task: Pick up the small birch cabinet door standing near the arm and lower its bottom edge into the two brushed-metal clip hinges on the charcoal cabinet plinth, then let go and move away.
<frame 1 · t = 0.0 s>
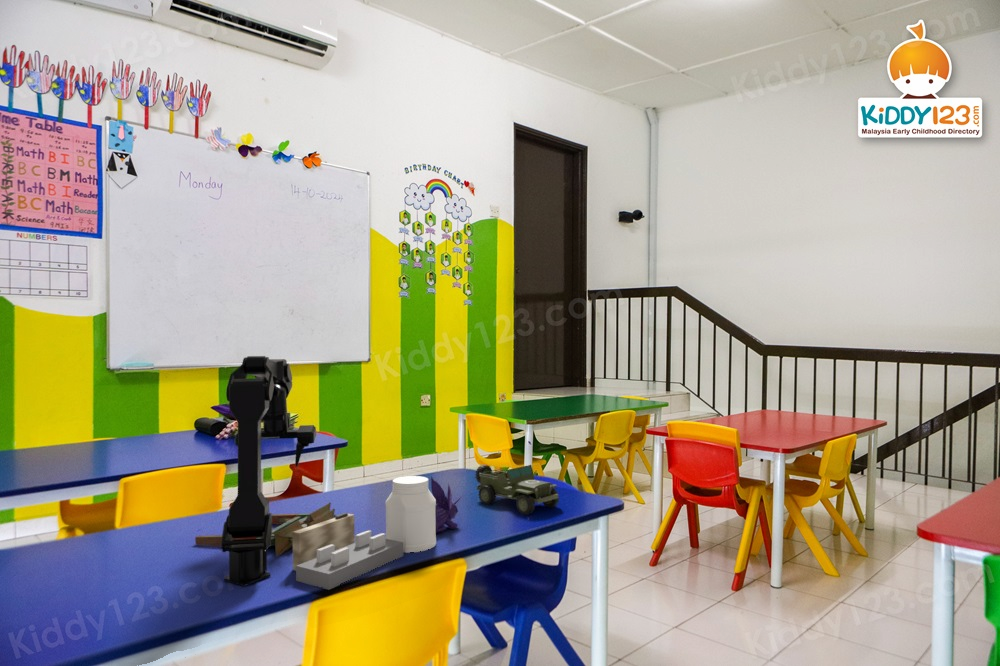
hand: (278, 466, 166), 15 cm above the table, tool pointing down, fingers open, 9 cm apart
jar: (411, 545, 153), on the table
creature: (437, 529, 165), on the table
miniature gate: (275, 538, 160), on the table
birch door: (325, 559, 143), on the table
toy jeep: (515, 505, 188), on the table
hinge plinth: (352, 567, 138), on the table
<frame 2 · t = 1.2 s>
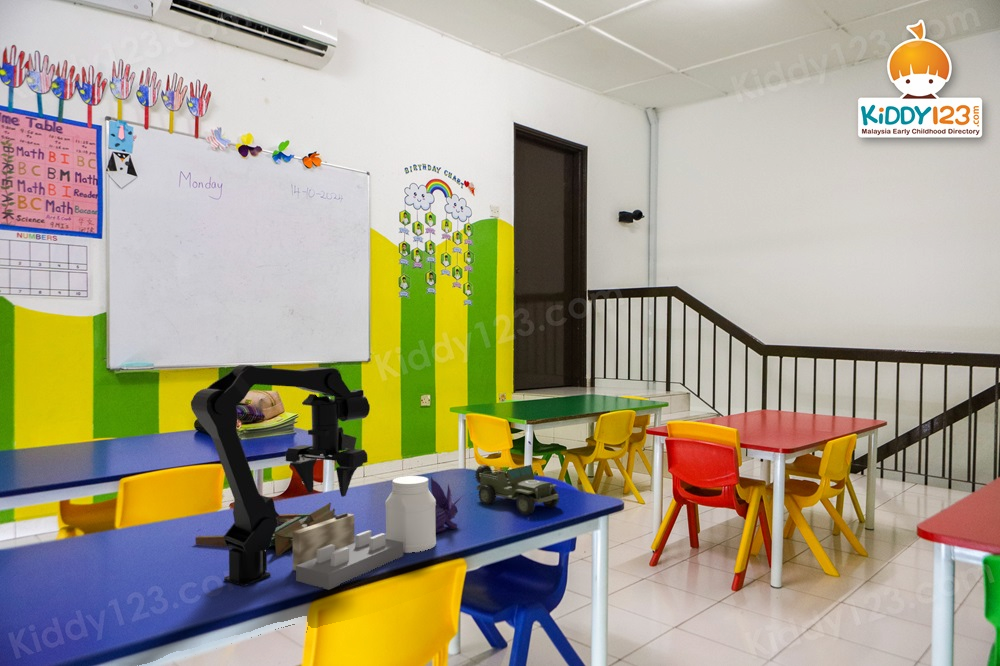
hand: (326, 494, 146), 13 cm above the table, tool pointing down, fingers open, 9 cm apart
jar: (411, 545, 152), on the table, touching creature
creature: (437, 529, 165), on the table, touching jar
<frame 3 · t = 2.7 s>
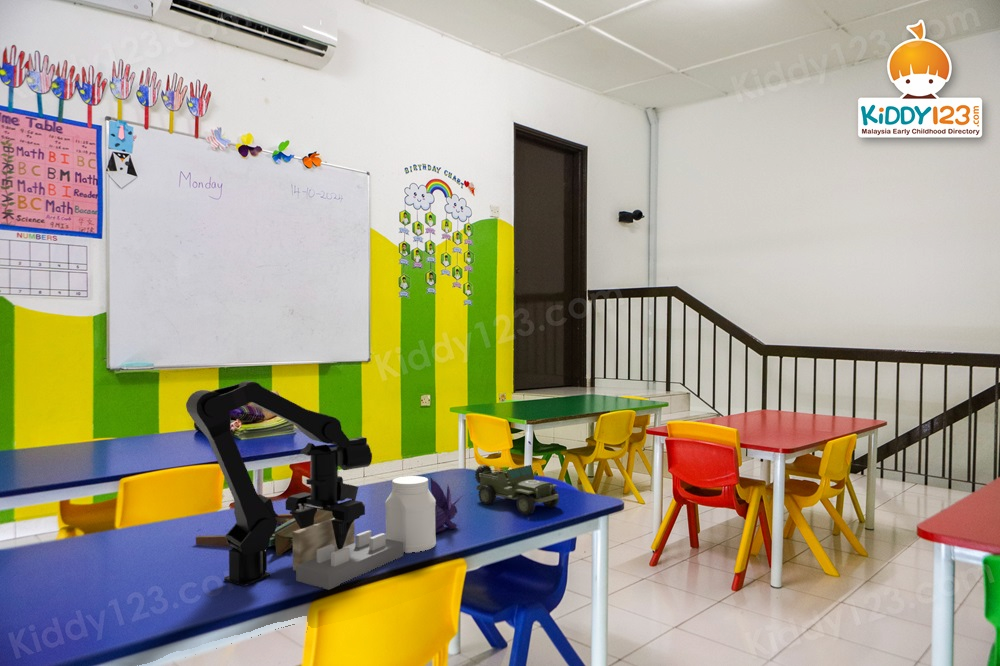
hand: (325, 545, 143), 3 cm above the table, tool pointing down, fingers open, 9 cm apart
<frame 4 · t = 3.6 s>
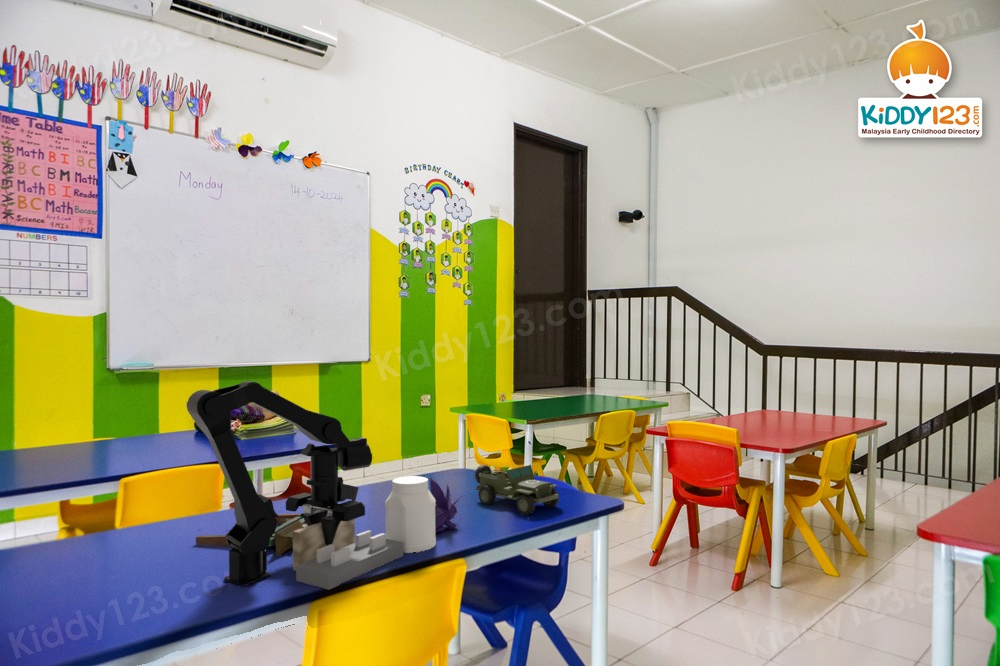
hand: (325, 546, 143), 3 cm above the table, tool pointing down, fingers closed on birch door, 2 cm apart
birch door: (325, 559, 143), on the table, touching gripper
everything else where it was.
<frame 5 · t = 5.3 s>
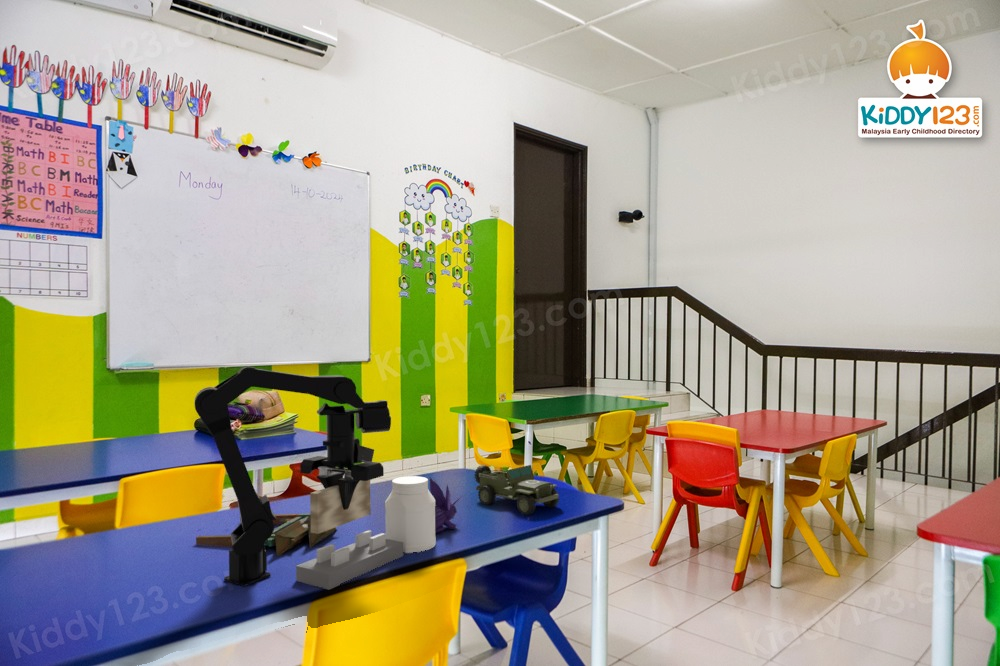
hand: (341, 508, 140), 12 cm above the table, tool pointing down, fingers closed on birch door
birch door: (342, 522, 140), point 9 cm above the table, touching gripper
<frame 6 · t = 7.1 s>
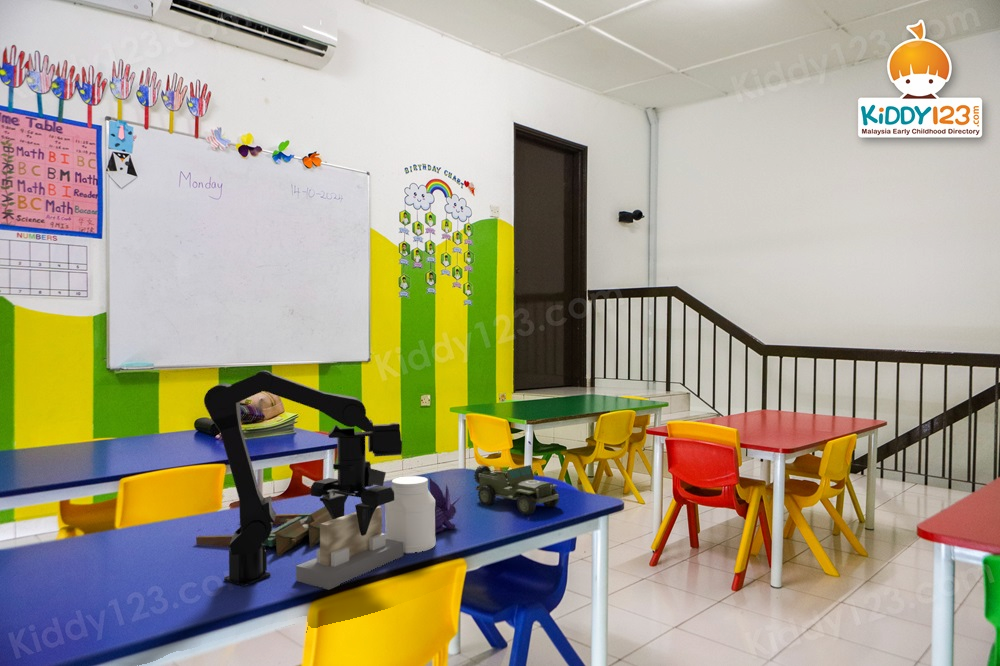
hand: (352, 532, 138), 7 cm above the table, tool pointing down, fingers open, 6 cm apart
birch door: (352, 553, 138), point 3 cm above the table, touching hinge plinth
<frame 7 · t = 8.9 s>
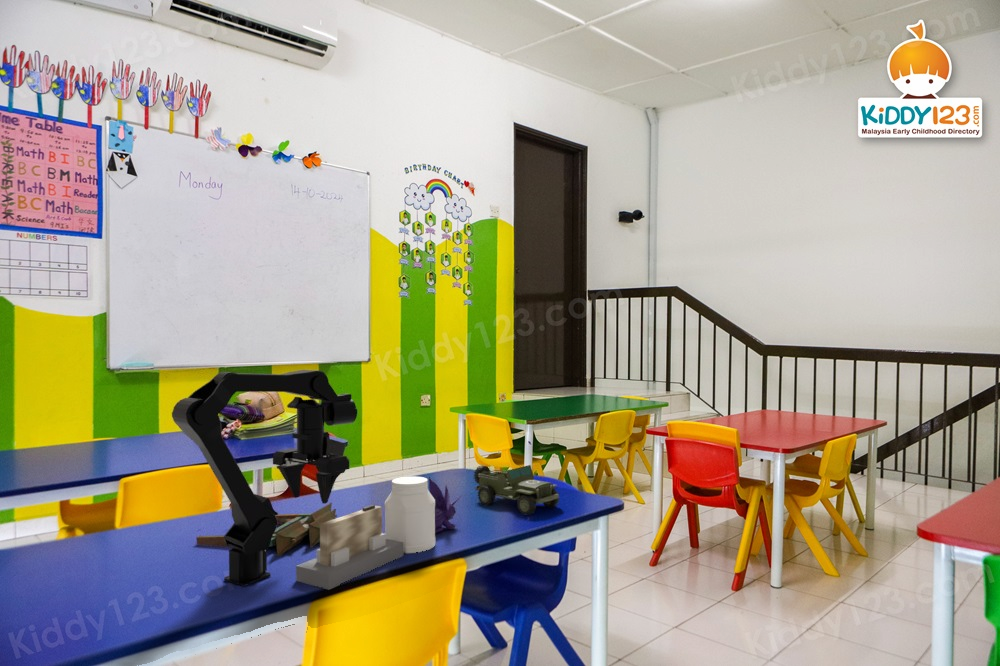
hand: (310, 500, 143), 13 cm above the table, tool pointing down, fingers open, 9 cm apart
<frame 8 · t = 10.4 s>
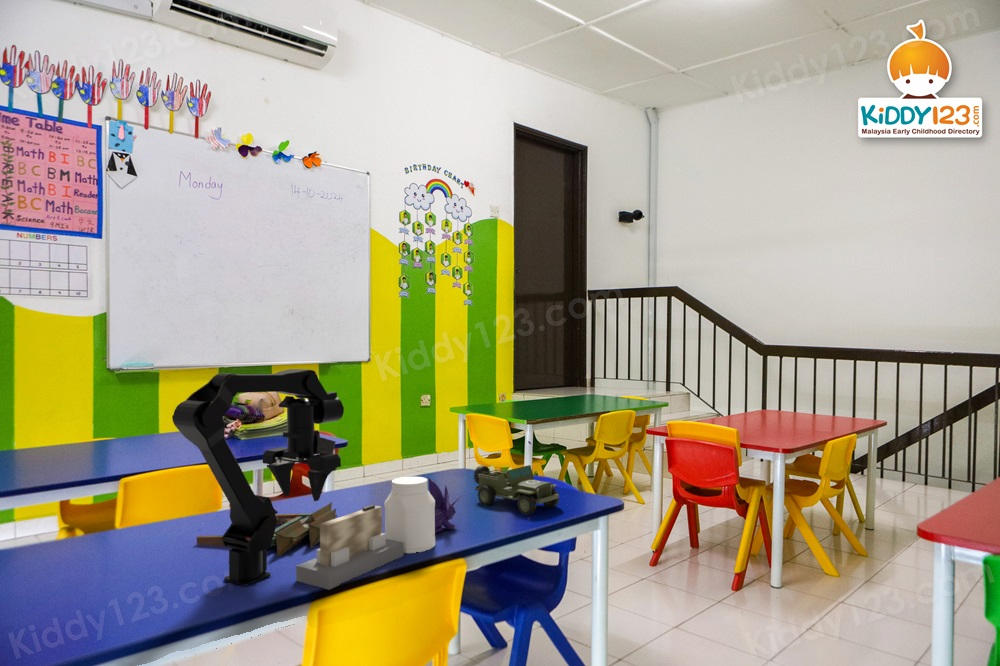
hand: (301, 498, 144), 13 cm above the table, tool pointing down, fingers open, 9 cm apart
at the end: birch door 0.1 cm off-centre on the hinge plinth, point 3.0 cm above the hinge plinth's base; birch door tilted 0°; the gripper is holding nothing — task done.
